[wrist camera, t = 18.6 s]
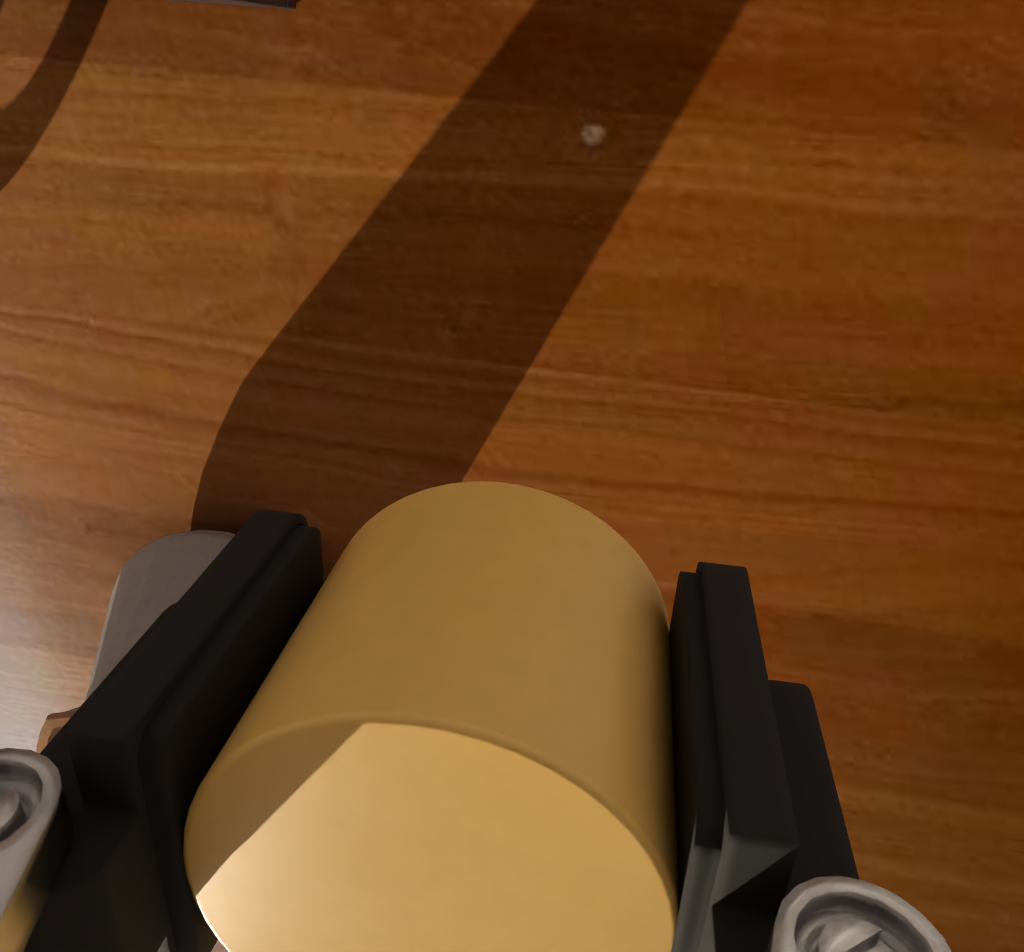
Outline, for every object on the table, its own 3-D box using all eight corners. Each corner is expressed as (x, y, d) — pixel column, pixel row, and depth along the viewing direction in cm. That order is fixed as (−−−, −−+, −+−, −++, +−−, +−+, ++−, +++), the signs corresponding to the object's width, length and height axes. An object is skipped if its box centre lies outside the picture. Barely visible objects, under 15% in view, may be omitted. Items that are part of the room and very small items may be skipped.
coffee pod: (600, 432, 9) (572, 662, 6) (713, 725, 11) (744, 1044, 7) (272, 533, 11) (82, 773, 7) (416, 782, 12) (322, 1078, 9)
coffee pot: (243, 467, 42) (55, 657, 29) (387, 629, 45) (279, 867, 32) (-1, 640, 50) (-237, 852, 36) (137, 768, 53) (-34, 1005, 40)
